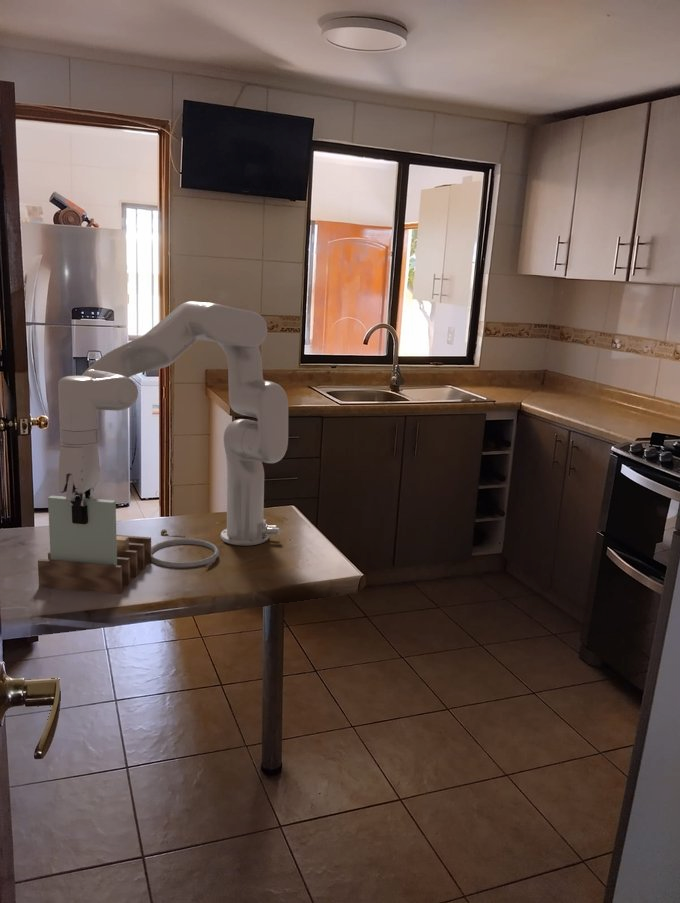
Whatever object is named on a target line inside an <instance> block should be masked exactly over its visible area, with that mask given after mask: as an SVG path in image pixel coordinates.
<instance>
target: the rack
mask: <svg viewBox="0 0 680 903" xmlns="http://www.w3.org/2000/svg"><path fill="white" fill-rule="evenodd" d="M116 536H122V537H129V550H121V549H117V565H108V564H96V563H84V562H72V561H60V560H51V555H50V551H48V552H47V558H39V559H38V560H37V571H38V572H37V573H38V575H37V576H38V588H44V589H45V588H46V589H56V590H69V591H77V592H78V591H80V592H90V593H101V594H113V595H122V594H123V593H124V592H125V590H126V589H127V588H128V587H129V586H130V585H131V584H132V583H133V582H134V581H135V580H136V579H137V578H138V576H140V575H141V573H142V572H143V571H144V570H145V569H146V568H147V567H148V566H149V565H150V564H151V563H153V562H152V561H151V547H152V537H149V536H136V535H127V534H126V535H123V534H116Z"/></svg>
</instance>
